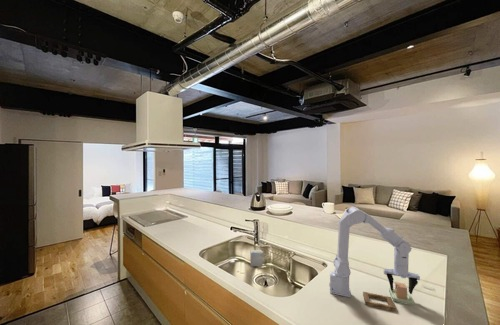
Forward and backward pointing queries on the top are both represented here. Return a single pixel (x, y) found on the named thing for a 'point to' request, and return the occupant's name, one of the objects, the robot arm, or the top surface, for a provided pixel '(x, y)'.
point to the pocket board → (378, 305)
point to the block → (400, 290)
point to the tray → (408, 301)
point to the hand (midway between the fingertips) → (400, 291)
